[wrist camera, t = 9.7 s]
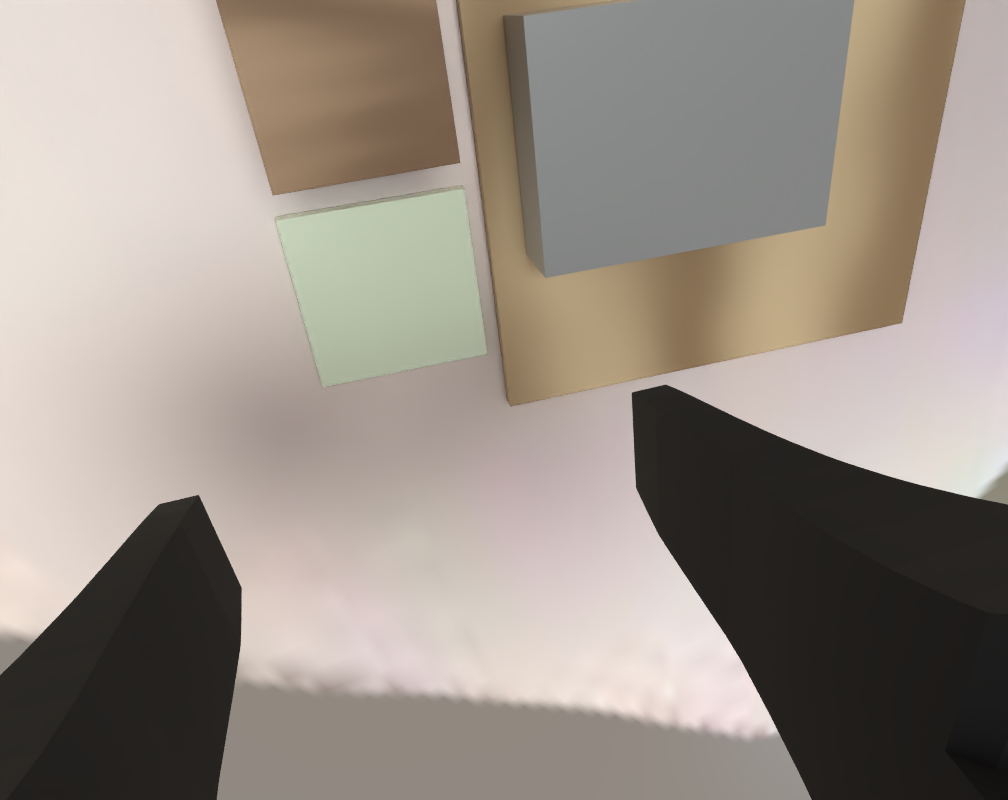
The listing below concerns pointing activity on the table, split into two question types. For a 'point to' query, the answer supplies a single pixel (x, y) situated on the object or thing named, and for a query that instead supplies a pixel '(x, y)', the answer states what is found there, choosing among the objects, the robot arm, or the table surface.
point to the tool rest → (386, 284)
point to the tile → (673, 124)
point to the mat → (730, 267)
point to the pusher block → (342, 88)
